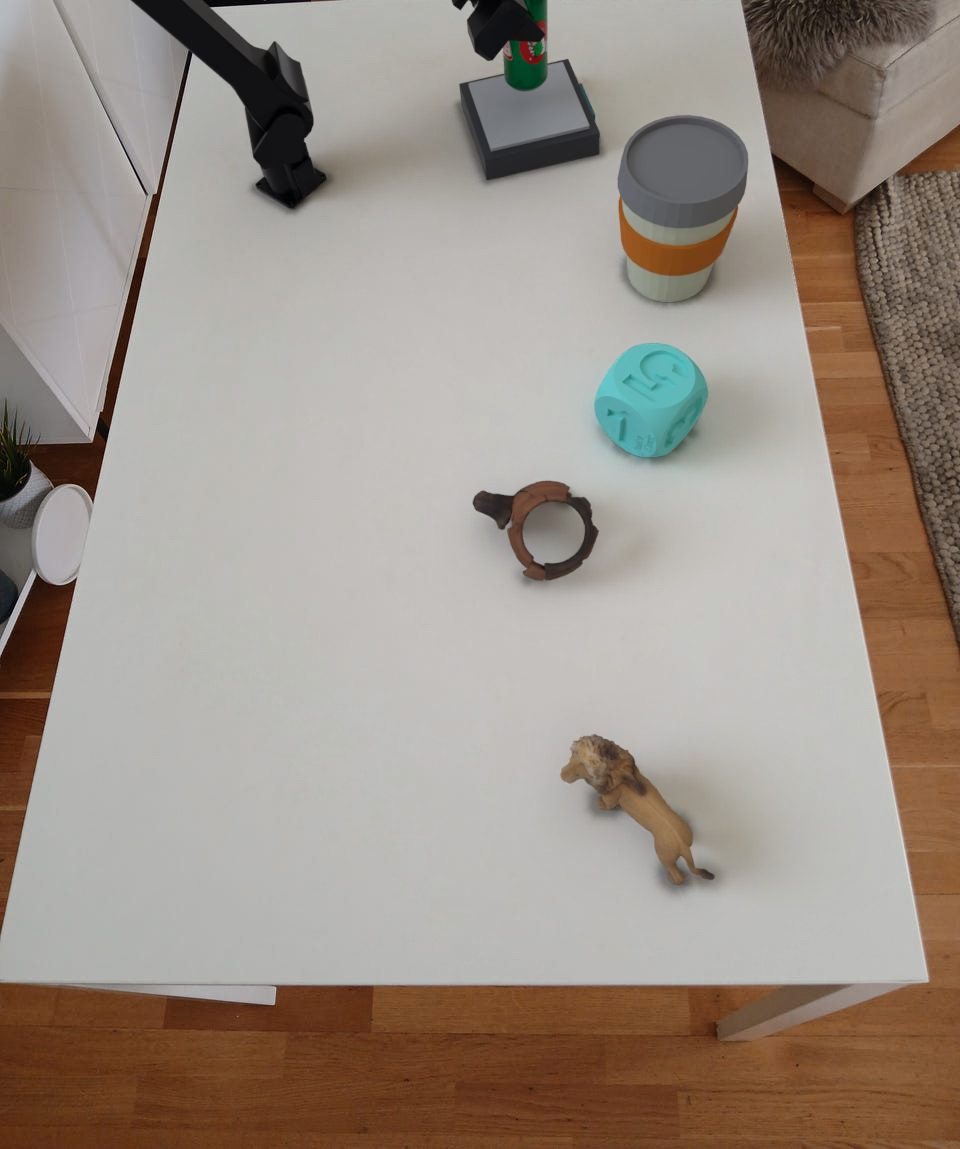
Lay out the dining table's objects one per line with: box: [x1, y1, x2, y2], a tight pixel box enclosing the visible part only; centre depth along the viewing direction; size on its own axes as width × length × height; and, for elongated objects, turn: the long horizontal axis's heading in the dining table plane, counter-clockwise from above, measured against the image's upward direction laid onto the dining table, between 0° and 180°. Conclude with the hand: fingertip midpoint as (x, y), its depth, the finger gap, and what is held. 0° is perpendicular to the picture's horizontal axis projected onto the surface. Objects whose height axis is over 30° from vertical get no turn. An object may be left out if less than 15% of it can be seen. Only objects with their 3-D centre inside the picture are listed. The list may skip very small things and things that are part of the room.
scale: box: [458, 58, 601, 181], centre depth 111 cm, size 15×14×4 cm
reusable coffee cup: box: [617, 114, 749, 303], centre depth 94 cm, size 12×13×15 cm
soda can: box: [502, 0, 549, 92], centre depth 101 cm, size 5×5×12 cm
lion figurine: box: [559, 733, 716, 885], centre depth 72 cm, size 15×5×9 cm, turn 50°
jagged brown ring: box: [472, 480, 600, 582], centre depth 86 cm, size 12×10×8 cm
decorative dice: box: [593, 342, 709, 458], centre depth 89 cm, size 8×8×8 cm
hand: (536, 22), depth 101 cm, fingers closed on soda can, 5 cm apart
